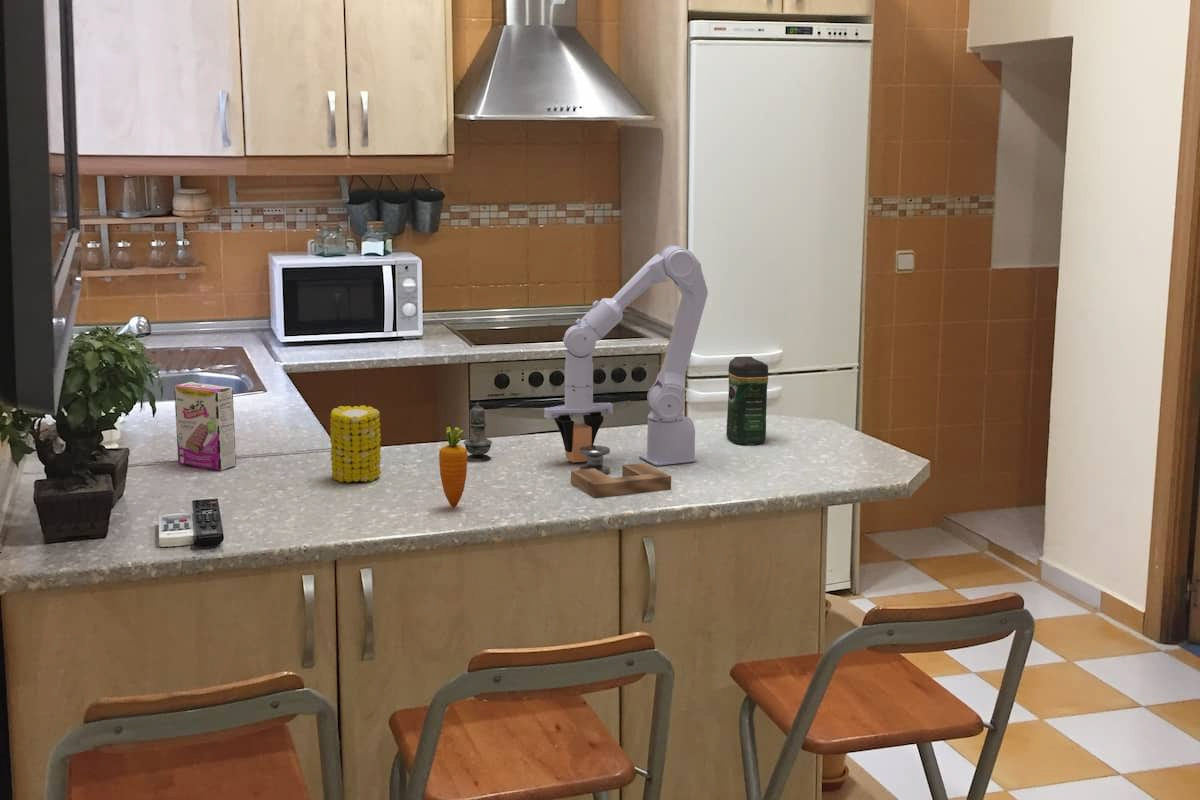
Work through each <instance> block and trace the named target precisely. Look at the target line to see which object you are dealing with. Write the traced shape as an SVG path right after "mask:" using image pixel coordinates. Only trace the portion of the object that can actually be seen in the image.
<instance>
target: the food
mask: <svg viewBox="0 0 1200 800" xmlns="http://www.w3.org/2000/svg"><path fill="white" fill-rule="evenodd" d="M380 413H381V412H380V411H379V410H378V409H377V408H374V407H373V406H370V405H369V406H366V405H360V406H358V405H357V406H356V405H354V406H351V405H346V406H343V405H339V406H338V407H337V408H336V407H334V408H333V409H331V411H330V415H329V417H330V419H329V421H330V423H329V425H330V440H329V441H330V445H331V446H330V447H331V448H330V455H331V456H330V461H331V475H332V478H333V480H335V481H338V482H339V483H344V482H346V483H351V482H355V483H358V482H359V481H360V482H374V481H375V480H377V479H378V477H380V475H381V472H382V471H381V466H380V465H381V459H382V456H381V447H382V446H381V445H380V443H381V441H382V439H381V434H382V433H381V427H380V426H381V422H380V420H381V417H380Z"/></svg>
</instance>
